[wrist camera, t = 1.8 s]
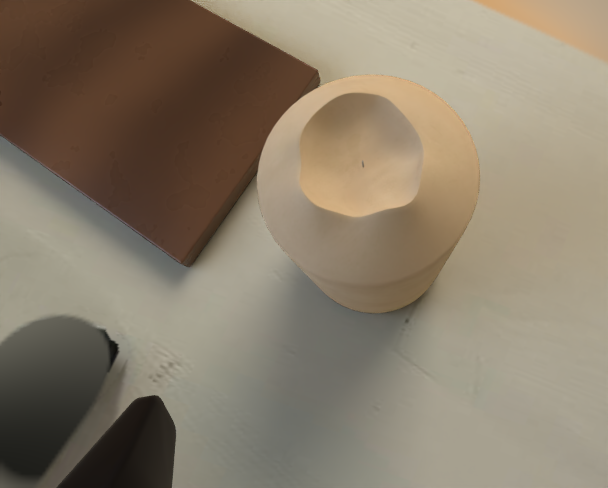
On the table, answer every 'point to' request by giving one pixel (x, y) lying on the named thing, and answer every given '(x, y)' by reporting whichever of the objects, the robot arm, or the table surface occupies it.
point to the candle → (369, 188)
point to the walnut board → (144, 107)
